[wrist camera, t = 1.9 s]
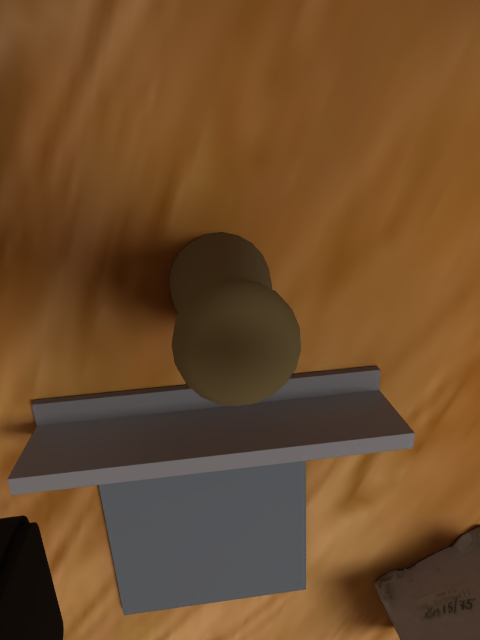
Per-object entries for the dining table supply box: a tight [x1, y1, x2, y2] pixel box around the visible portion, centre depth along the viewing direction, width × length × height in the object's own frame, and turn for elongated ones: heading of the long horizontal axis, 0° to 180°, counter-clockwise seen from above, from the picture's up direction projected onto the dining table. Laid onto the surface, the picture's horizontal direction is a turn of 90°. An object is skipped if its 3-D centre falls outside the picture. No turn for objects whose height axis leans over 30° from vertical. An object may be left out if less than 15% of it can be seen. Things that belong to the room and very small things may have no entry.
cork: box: [169, 232, 301, 406], centre depth 22 cm, size 6×6×11 cm
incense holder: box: [374, 527, 480, 640], centre depth 33 cm, size 10×8×10 cm
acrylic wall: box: [7, 366, 415, 495], centre depth 27 cm, size 22×4×6 cm, turn 93°
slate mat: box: [99, 461, 306, 615], centre depth 33 cm, size 14×14×1 cm
